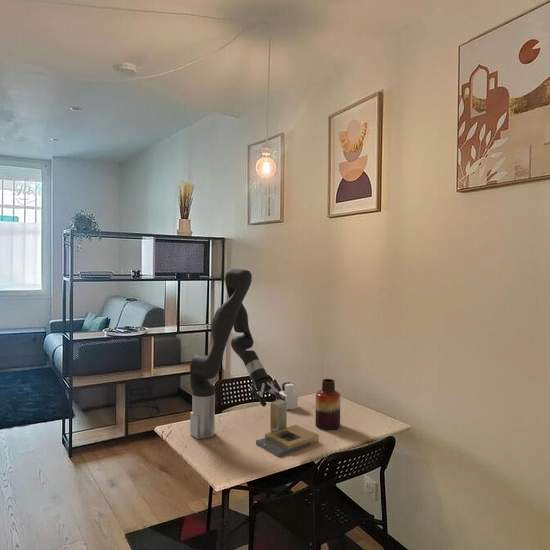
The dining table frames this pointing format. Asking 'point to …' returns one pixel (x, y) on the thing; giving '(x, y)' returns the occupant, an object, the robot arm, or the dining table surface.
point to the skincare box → (278, 415)
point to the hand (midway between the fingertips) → (272, 403)
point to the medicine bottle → (289, 395)
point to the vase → (328, 406)
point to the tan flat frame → (281, 447)
